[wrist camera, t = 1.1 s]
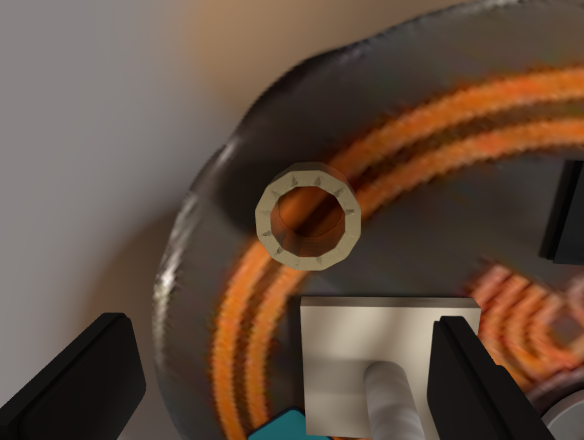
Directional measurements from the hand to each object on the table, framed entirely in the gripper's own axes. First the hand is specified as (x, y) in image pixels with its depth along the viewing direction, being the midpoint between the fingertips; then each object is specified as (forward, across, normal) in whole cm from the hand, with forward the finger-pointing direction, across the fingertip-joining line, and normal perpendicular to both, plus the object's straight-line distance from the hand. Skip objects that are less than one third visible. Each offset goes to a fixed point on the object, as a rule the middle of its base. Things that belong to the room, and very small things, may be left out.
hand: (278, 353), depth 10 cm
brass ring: (+17, 0, 0) cm, 17 cm away
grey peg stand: (+17, -6, +15) cm, 23 cm away
